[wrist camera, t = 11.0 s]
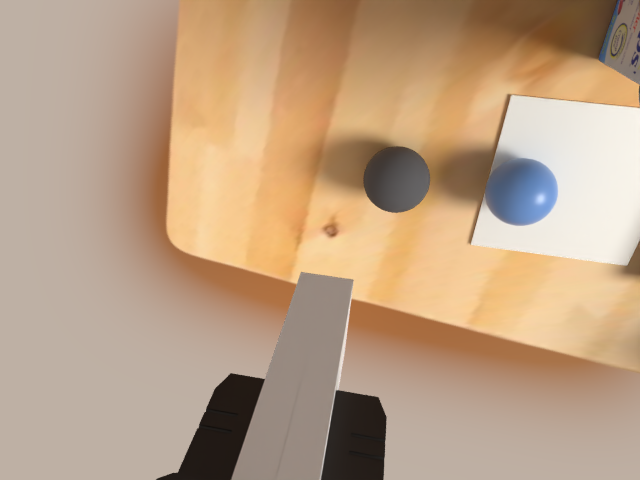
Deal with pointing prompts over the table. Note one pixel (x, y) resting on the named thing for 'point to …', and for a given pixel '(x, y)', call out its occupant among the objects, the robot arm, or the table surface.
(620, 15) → the medicine box
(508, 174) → the blue ball
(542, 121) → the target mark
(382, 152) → the dark gray ball
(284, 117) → the table surface
